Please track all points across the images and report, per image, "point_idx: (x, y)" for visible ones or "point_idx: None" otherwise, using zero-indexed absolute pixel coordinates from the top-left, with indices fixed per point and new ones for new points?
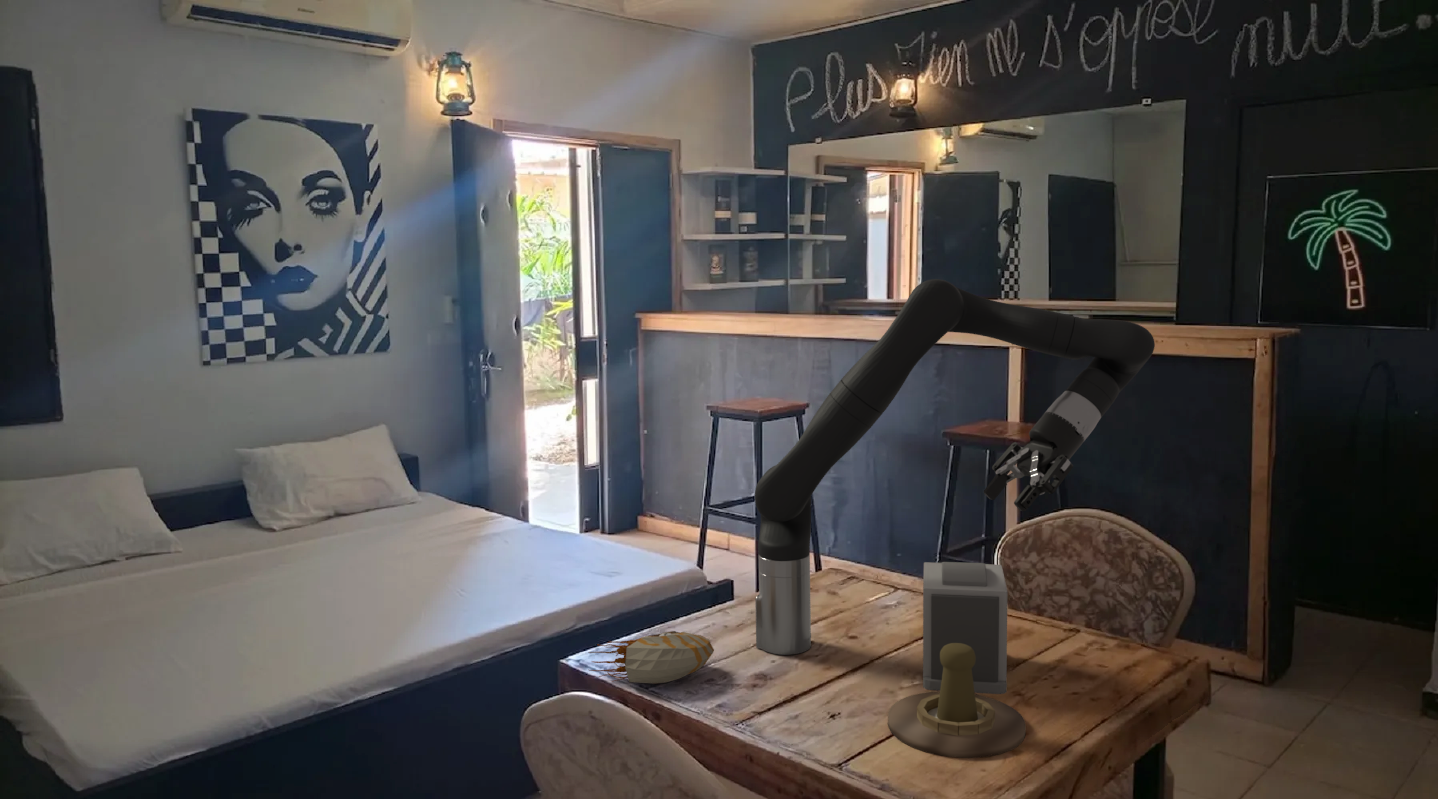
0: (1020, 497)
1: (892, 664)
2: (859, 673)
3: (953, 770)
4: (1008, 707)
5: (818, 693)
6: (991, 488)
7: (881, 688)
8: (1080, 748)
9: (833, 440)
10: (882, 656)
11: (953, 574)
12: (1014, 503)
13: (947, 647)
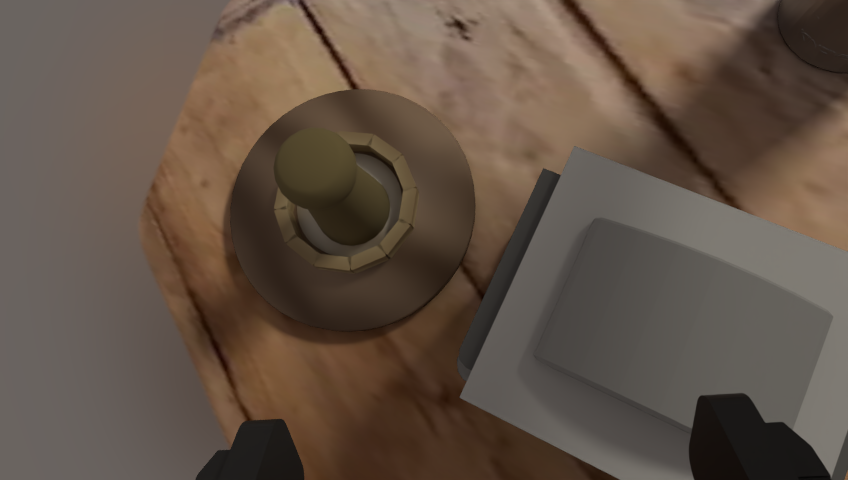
0: (227, 469)
1: None
2: (640, 126)
3: (219, 140)
4: (359, 322)
5: (560, 25)
6: (728, 461)
7: (552, 142)
8: (206, 376)
9: None
10: (729, 205)
11: (618, 263)
12: (277, 419)
13: (313, 136)
